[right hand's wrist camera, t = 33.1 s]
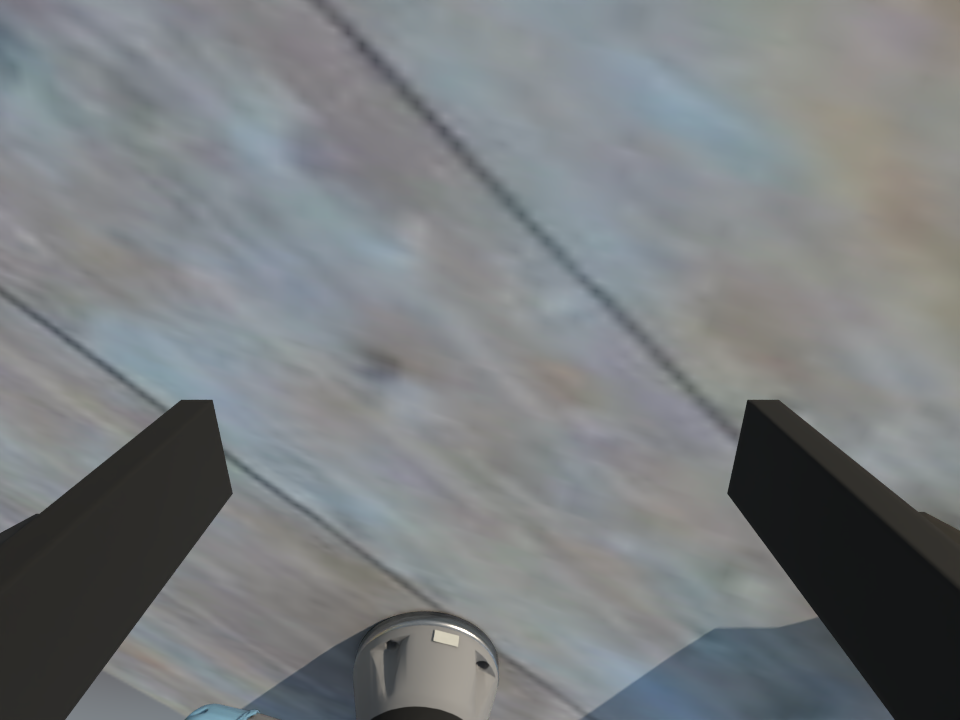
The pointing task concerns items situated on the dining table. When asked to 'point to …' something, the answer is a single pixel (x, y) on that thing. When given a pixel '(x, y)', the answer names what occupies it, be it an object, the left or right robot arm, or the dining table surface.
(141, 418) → the dining table surface
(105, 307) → the dining table surface
